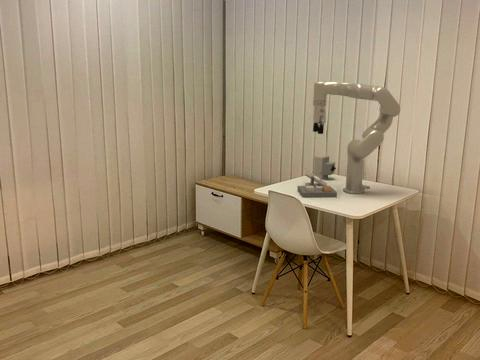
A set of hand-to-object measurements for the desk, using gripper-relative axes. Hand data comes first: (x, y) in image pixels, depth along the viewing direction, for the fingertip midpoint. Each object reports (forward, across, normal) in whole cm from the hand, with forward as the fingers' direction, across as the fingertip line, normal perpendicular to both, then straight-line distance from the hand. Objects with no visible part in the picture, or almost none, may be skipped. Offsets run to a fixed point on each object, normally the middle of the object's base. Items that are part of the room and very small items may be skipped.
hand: (318, 132), depth 278 cm
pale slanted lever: (+36, +16, -5) cm, 40 cm away
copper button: (+33, -10, -4) cm, 35 cm away
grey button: (+33, -9, +6) cm, 35 cm away
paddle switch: (+33, -1, +2) cm, 33 cm away
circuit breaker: (+36, +34, -17) cm, 52 cm away
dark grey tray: (+36, -5, 0) cm, 36 cm away
